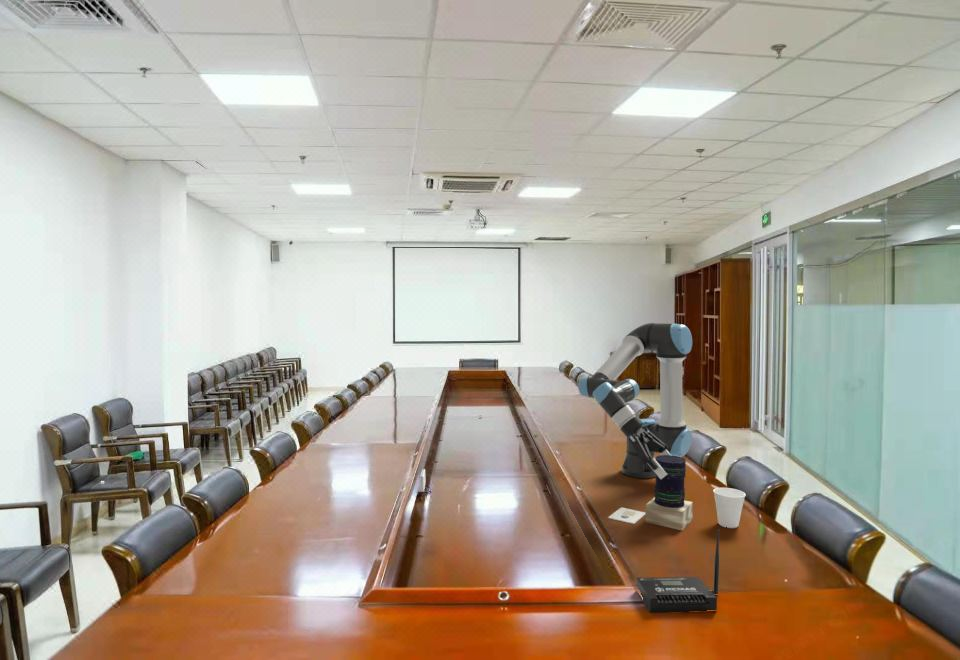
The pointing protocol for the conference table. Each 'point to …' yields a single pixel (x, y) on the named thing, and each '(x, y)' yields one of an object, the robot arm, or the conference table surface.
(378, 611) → the conference table surface
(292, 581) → the conference table surface
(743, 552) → the conference table surface
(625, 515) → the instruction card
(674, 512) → the base block
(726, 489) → the cup
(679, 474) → the storage jar
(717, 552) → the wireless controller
